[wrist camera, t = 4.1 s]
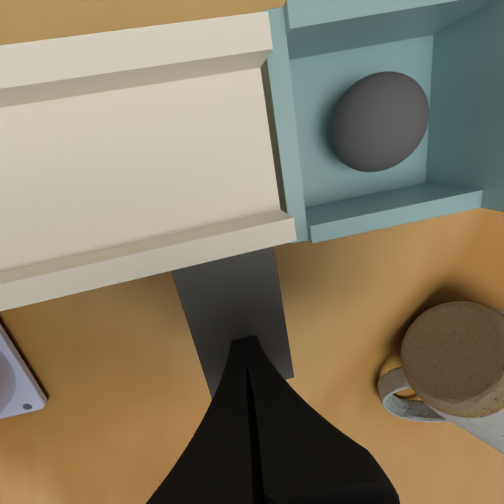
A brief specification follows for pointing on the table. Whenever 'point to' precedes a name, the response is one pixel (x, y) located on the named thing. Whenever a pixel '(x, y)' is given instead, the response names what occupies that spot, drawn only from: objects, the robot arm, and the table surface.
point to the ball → (379, 121)
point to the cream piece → (147, 175)
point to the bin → (373, 61)
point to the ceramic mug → (452, 370)
